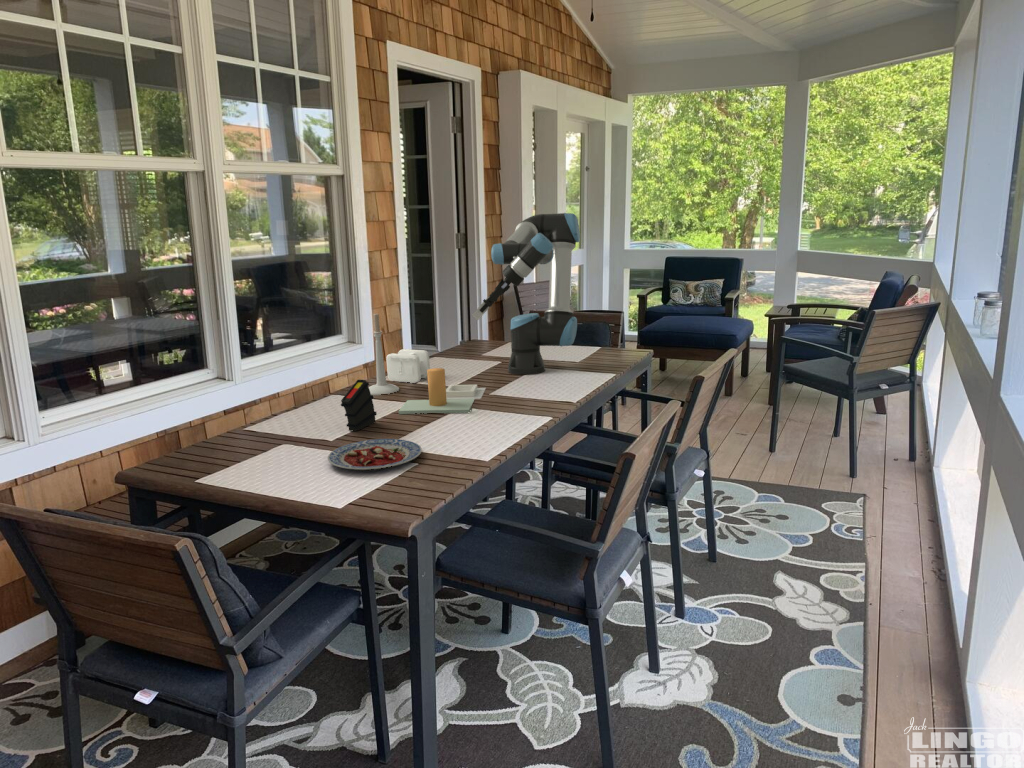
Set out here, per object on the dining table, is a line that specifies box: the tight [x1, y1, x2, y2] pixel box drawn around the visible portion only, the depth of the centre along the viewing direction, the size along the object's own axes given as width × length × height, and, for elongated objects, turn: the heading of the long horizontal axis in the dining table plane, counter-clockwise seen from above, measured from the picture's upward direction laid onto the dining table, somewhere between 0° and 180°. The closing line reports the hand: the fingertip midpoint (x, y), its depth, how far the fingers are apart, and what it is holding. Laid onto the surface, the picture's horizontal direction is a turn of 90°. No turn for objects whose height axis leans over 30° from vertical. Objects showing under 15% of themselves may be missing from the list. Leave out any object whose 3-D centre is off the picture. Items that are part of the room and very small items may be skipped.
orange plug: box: [427, 367, 447, 406], centre depth 264 cm, size 6×6×12 cm
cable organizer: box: [385, 348, 431, 384], centre depth 306 cm, size 15×11×12 cm
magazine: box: [340, 379, 377, 432], centre depth 244 cm, size 4×13×15 cm, turn 156°
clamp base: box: [446, 384, 487, 400], centre depth 279 cm, size 16×16×3 cm
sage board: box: [398, 399, 476, 415], centre depth 264 cm, size 24×14×1 cm, turn 85°
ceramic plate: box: [327, 438, 423, 471], centre depth 213 cm, size 26×26×3 cm
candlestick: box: [368, 313, 400, 396], centre depth 288 cm, size 13×13×30 cm
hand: (477, 314), depth 275 cm, fingers open, 13 cm apart
